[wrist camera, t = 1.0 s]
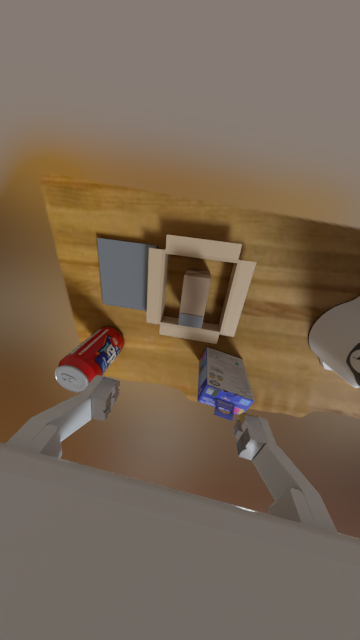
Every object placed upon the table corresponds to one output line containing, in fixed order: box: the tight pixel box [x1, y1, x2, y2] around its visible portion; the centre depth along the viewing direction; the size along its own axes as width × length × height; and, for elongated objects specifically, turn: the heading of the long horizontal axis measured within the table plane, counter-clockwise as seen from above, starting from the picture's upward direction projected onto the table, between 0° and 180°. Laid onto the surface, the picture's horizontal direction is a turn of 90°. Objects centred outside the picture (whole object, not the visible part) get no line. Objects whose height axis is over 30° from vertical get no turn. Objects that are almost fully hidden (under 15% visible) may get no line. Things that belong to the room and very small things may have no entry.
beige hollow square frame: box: [146, 235, 256, 344], centre depth 34 cm, size 19×20×4 cm
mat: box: [97, 238, 157, 311], centre depth 36 cm, size 12×14×1 cm
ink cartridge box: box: [198, 347, 255, 421], centre depth 36 cm, size 10×6×14 cm, turn 72°
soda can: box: [55, 327, 124, 392], centre depth 37 cm, size 8×8×15 cm
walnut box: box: [178, 268, 211, 329], centre depth 32 cm, size 4×9×8 cm, turn 173°
